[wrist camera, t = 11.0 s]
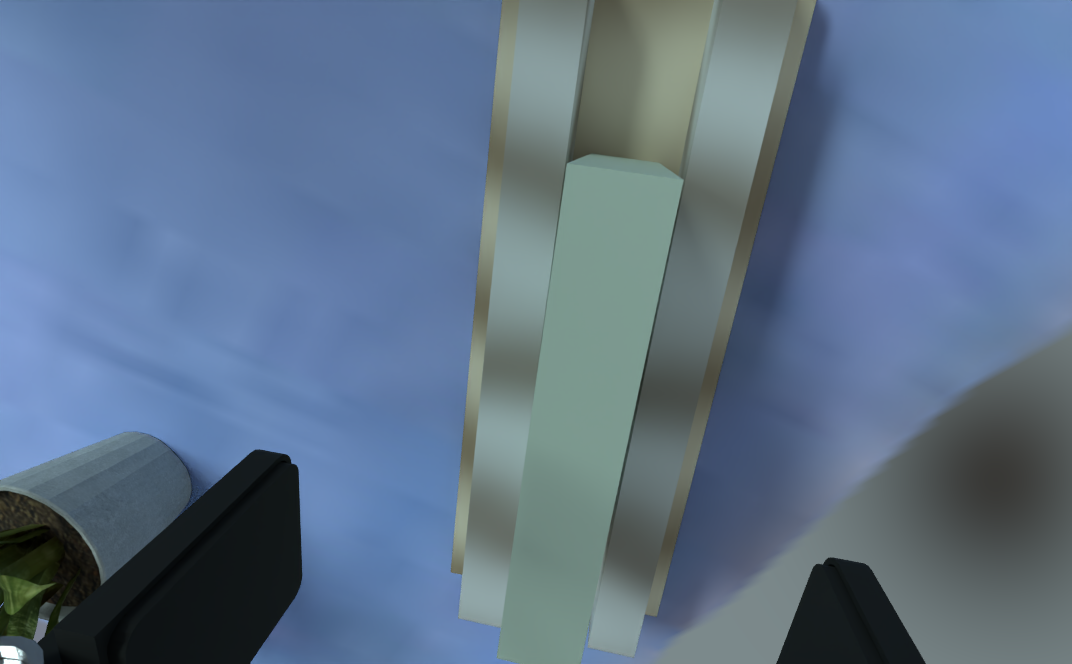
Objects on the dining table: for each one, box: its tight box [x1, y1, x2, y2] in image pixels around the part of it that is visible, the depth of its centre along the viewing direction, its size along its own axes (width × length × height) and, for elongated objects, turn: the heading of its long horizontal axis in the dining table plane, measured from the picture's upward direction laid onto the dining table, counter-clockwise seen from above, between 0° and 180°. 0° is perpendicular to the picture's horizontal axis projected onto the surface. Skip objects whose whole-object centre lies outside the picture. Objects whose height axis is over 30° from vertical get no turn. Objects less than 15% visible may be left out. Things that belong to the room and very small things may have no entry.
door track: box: [451, 0, 816, 658], centre depth 22 cm, size 26×10×4 cm, turn 173°
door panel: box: [497, 153, 684, 664], centre depth 18 cm, size 14×2×9 cm, turn 172°
